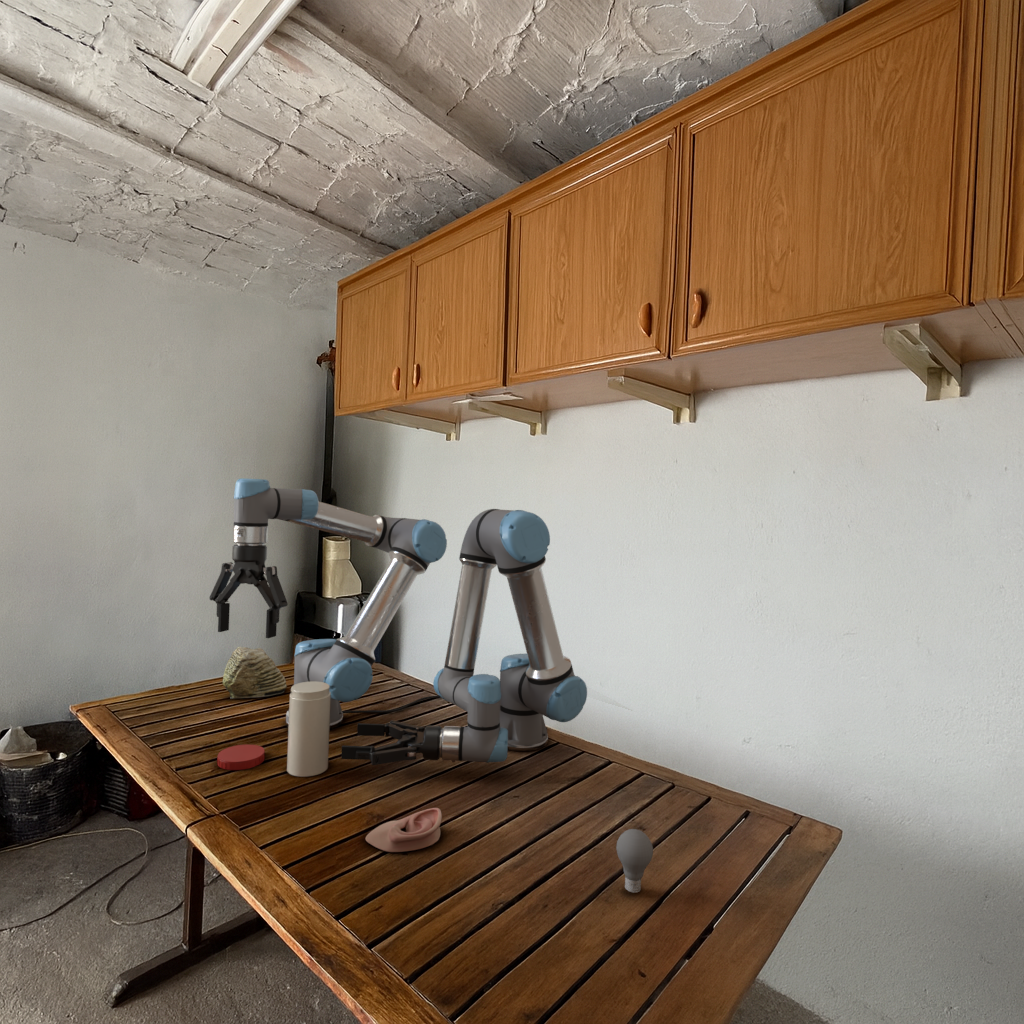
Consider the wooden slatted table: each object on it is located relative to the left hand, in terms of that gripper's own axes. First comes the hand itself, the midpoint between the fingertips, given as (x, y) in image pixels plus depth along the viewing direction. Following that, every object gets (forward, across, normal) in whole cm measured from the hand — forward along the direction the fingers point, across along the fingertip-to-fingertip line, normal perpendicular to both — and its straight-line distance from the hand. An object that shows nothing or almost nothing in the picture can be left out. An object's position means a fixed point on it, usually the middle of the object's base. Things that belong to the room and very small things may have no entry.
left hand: (246, 634), depth 149 cm
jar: (+30, +16, +2) cm, 34 cm away
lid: (+28, 0, 0) cm, 29 cm away
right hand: (+23, +26, +5) cm, 35 cm away
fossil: (+30, -31, +41) cm, 59 cm away
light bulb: (+30, +94, -17) cm, 100 cm away
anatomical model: (+30, +51, -16) cm, 61 cm away
